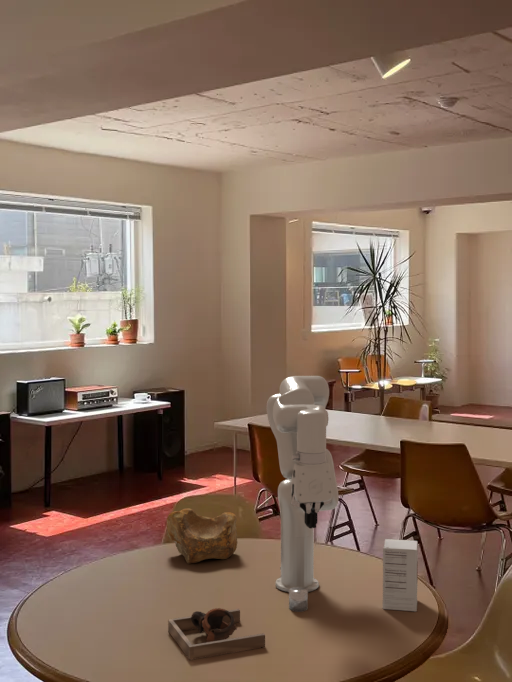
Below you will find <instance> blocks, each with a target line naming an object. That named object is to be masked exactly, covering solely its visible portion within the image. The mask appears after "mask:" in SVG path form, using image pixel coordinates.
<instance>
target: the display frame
mask: <svg viewBox="0 0 512 682" xmlns="http://www.w3.org/2000/svg"><path fill="white" fill-rule="evenodd" d="M228 611H229V612H230V613H231V614H232V615H233V618H234V620H235V621H234V624H235V623H241V610H240V608H237V609H231V610H228ZM191 616H192V615H191ZM191 616H190V615H189V616H183V617H178V618H170V619H168V620H167V623H168V624H167V631H168V633H169V635H170V636H171V637H172V638H173V639H174V641H175V643H176V644H177V645H178V646H179V648H180V649H181V651H183V653H184V654H185V656H186V657H187V659H188V660H189V661H191V660H192V661H193V660H196V659H204V658H209V657H214V656H220V655H227V654H232V653H237V652H239V653H240V652H244V651H251V650H255V649H261V647H263V648H266V634H265V633H264V632H263V633H258V634H250V635H245V636H238V637H234V638H226V639H224V640H219V641H213V642H207V643H206V642H202V643H197V644H195V643H194V644H192V642H191V641H190V639H188V637H187V636H186V635H185V634H184V631H189V630H190V631H191V630H196V629H197V630H198V628H197V627H196V626H195V625H194V624H193V623H192V621H191ZM222 621H224V622H225V623H227V624H228V625H230V623H231V620H230V618H229V616H224V617H223V620H222Z"/></svg>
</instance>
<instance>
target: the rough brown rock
mask: <svg viewBox="0 0 512 682" xmlns="http://www.w3.org/2000/svg"><path fill="white" fill-rule="evenodd" d="M166 530H167V535H168V538H169V539H170V540H171V541H172V542H174V543H175V546H176V549H177V552H178V553H179V554H181V555H182V556H183V557H184V560H185V562H186V563H187V564H188V565H189V564H190V565H191V564H194V563H200V562H202V561H204V560H208V559H218V560H227V559H229V558H230V557H232V555H233V554H234V553H236V550H237V548H238V532H237V515H236V514H235V513H233V512H228V511H227V512H226V511H225V512H223V513H222V514H220V515H218V516H214V517H210V516H202V515H199V514H198V513H196V512H195V510H194V509H192V508H190V507H189V508H188V507H187V508H183V509H181V510H175V511H171V512H170V513H169V514H168V515H167V518H166Z"/></svg>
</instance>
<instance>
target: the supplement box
mask: <svg viewBox="0 0 512 682" xmlns="http://www.w3.org/2000/svg"><path fill="white" fill-rule="evenodd" d="M418 544H419V543H418V540H413V539H412V540H409V539H391V538H390V539H389V538H388V539H387V538H385V539H384V545H383V548H382V609H383V610H392V611H393V610H394V611H405V612H418V610H417V609H418V581H419V579H418V578H419V577H418V576H419V575H418V572H419V569H418V568H419V565H418V564H419V562H418V561H419V558H418V557H419V552H418V551H419V550H418V549H419V547H418V546H419V545H418Z"/></svg>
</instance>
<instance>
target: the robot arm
mask: <svg viewBox="0 0 512 682" xmlns="http://www.w3.org/2000/svg"><path fill="white" fill-rule="evenodd" d="M329 387H330V386H329V384H328V381H327V380H326V379H325V377H323V376H321V375H292V376H288V377H286V378H284V379H283V380H282V381H281V382H280V385H279V393H276V394H273V395H270V396H269V398H268V399H267V402H266V415H267V421H268V424H269V427H270V429H271V432H272V434H273V435H274V438H275V441H276V445H277V453H278V456H277V457H278V463H279V470H280V473H281V475H282V477H283V478H285V479H284V480H282V481H280V483H279V485H278V486H277V498H278V499H277V500H278V504H279V512H280V513H279V515H280V567H279V570H280V577H279V578H277V579H276V580H275V587H276V588H277V589H278V590H280V591H283V592H287V593H289V589H290V588H293V587H303V588H306V589H307V590H308V593H310V592H313V591H316V590H317V589H318V588H319V586H320V584H319V583H320V582H319V580H318V579H316V578H315V577H314V568H315V567H314V564H315V563H314V562H315V561H314V556H315V555H314V552H315V551H314V548H315V547H314V546H315V545H314V536H315V535H314V533H315V532H314V531H315V530H314V529H316V528H317V524H318V513H320V512H325V511H332V510H334V509H336V508H337V506H338V504H339V499H340V498H339V489H338V482H337V476H336V470H335V464H334V463H335V462H334V459H333V456H332V453H331V452H330V450H329V449H328V448H327V427H328V424H329V412H328V410H327V409H326V408H327V404H328V402H329V398H330V397H329V396H330V388H329Z"/></svg>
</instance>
